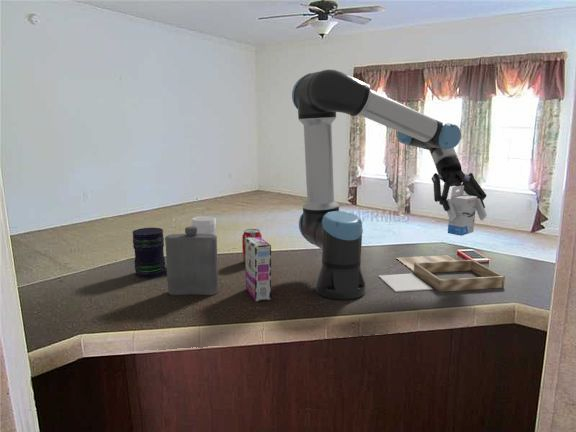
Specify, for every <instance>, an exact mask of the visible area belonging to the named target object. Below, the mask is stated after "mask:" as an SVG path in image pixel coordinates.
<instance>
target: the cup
mask: <svg viewBox="0 0 576 432" xmlns="http://www.w3.org/2000/svg"><path fill="white" fill-rule="evenodd" d="M191 226H194V227H196V228H197V233H198V234H213V235H216V229H217V219H216V217H215V216H211V215H201V216H199V215H198V216H195V217H192V218H191ZM218 259H219V258H217V262H218V261H219V260H218Z"/></svg>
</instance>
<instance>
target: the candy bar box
mask: <svg viewBox="0 0 576 432" xmlns="http://www.w3.org/2000/svg"><path fill="white" fill-rule="evenodd" d="M245 261H246V263H245V290H246V291H247V292H248V294H249V295H250V296H251V298H252V299H253V300H254V302H263V301H264V302H265V301H270V300H272V245H271V244H270V243H268V242H267V241H266V240H265V239H263V237H262V238H261V237H251V238H245Z"/></svg>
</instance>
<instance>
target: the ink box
mask: <svg viewBox="0 0 576 432" xmlns="http://www.w3.org/2000/svg"><path fill="white" fill-rule="evenodd" d="M458 190H459V191H458ZM464 193H465V191H464V185H463V186H452V188H451V196H450V200H451V203H452V206H453V208H454V211H455V214H456V218H455V219H454V220H453V221H450V219H449V218H448V224H447V234H449V235H450V234H451V235H455V236H460V237H462V236H465V235H469V234H472V233H474V231H475V230H474V228H475V222H476V221H475V219H476V213H477V211H476V203H477V196H470V195H468V194H464Z"/></svg>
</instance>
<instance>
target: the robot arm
mask: <svg viewBox="0 0 576 432" xmlns="http://www.w3.org/2000/svg"><path fill="white" fill-rule="evenodd" d="M291 99H292V103H293V105H294V107H295V108H296V109H297V115H298V116H297V117H298V122H300V123H301V124H302V125H303V137H304V139H303V140H304V156H305V157H304V159H305V162H304V163H305V177H306V178H305V179H306V183H305V184H306V198H307V199H306V201H305V202H304V204H302V214H301V215H300V217H299V220H298V229H299V232H300V234H301V236H302V237H303V238H304V239H305V240H306V241H307V242H309V243H310V244H312V245H314V246H316V247H318V248H319V249H321V266H320V269H319V272H318V276H317V278H316V280H315V292H316V293H317V294H318V295H320V296H322V297H325V298H328V299H331V300H332V299H333V300H354V299H359V298H362V297H363V296H364V295H365V294H366V291H367V284H366V281H365V277H364V274H363V271H362V265H361V264H362V246H363V245H362V243H363V241H362V240H363V233H364V232H363V231H364V230H363V229H364V228H363V221H362V219H361V217H359V216H358V215H357V214H354V213H352V212H347V211H344V210H343V211H341V210H340V205H339V203H338V202H337V201H336V200H335V192H334V191H335V190H334V188H335V187H334V162H333V161H334V159H333V136H332V135H333V133H332V132H333V130H332V129H333V128H332V127H333V126H332V124H333V122H334V121H335V120H336V119H337V113H343V114H346V115H349V116H352V117H357V116H361V117H364V118H366V119H368V120H371V121H373V122H375V123H377V124H380V125H383V126H384V127H387V128H389V129H392V130H394V131H396V132H397V133H396V138H397V140H398V142H399V143H401V144H404V145H406V146H411V147H415V148H420V149H424V150H427V151H429V153H430V155H431V157H432V159H433V160H432V161H433V162H434V166H435V168H436V171H437V172H434V174H433V176H432V177H431V181H432V184H433V196H434V197H433V198H434V202H436V203H438V202H439V203H438V204H439V205H441V206H442V208H443V210H444V211H445V212H446V213H447V215H448V220H449V219H450V221H453V220H454V219H455V218H456V214H455V211H454V208H453V206H452V203H451V198H448V197H449V193H450V187H457V186H463V185H464V193H466V195H470V196H477V203H476V213H477V215H478V218H479V220H480V221H484V220H485V219H486V217H487V216H488V215H487V212H486V209H485V208H486V205H485V203H484V200H485V199H486V197H487V193H486V192H485V191H484V190H483V188H482V187H481V185H480V184H479V183H478V181H477V180H476V179H475V177H474V174H473V173H472V172H470V173H469V174H465V173H464V171H463V170H462V165H461V162H460V160H459V158H458V155H457V153H456V150H455V148H456V147H457V146H458V145H459V144H460V141H461V138H462V132H461V128H460V126H458V125H457V124H454V123H450V122H447V123H444V122H442V121H440V120H437V119H435V118H433V117H430V116H429V115H426V114H424V113H421V112H420V111H417V110H415V109H413V108H411V107H409V106H407V105H405V104H402V103H400V102H397V100H396V101H395V100H393V99H392V98H389V97H387V96H385V95H383V94H380V93H379V92H376V91H375V90H372V89H371V86H370V85H369V84H368V83H366V82H364V81H362V80H359V78H356V77H353V76H351V75H349V74H347V73H344V72H342V71H339V70H335V69H324V70H321V71H315V72H311V73H310V72H309V73H307V74H305V75H303V76H302V77H300V78H299V79H298V80H297V81H296V82H295V83H294V85H293V87H292V92H291ZM441 181H442V182H443V183H444V184H443V186H442V187H443V189H442V188H441ZM441 189H442V191H441Z"/></svg>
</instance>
